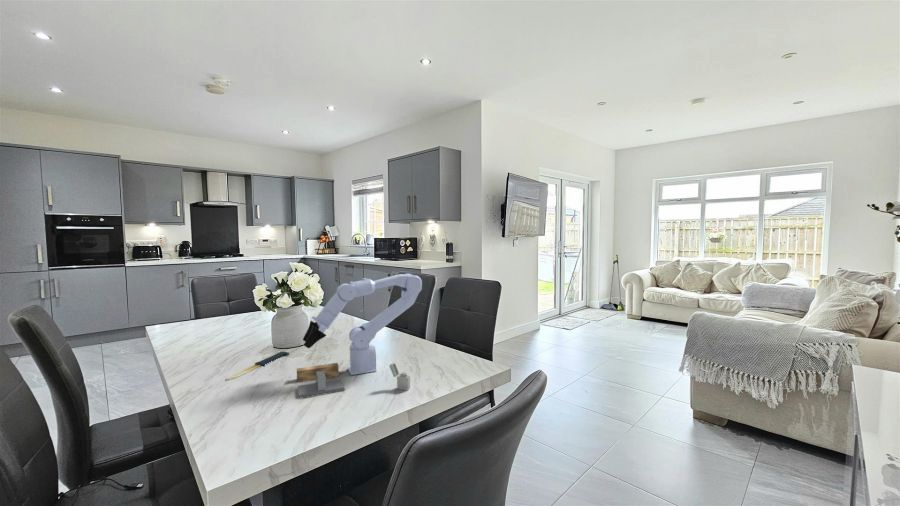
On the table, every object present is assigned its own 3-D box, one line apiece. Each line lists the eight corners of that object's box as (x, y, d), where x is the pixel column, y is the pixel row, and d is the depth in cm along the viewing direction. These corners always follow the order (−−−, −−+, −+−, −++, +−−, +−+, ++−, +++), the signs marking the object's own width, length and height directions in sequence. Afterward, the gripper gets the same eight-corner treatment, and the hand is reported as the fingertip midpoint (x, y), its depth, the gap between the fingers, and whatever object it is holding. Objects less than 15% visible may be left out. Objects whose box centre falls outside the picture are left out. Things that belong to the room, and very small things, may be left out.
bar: (337, 373, 137) (337, 362, 137) (338, 376, 134) (338, 365, 134) (296, 379, 131) (296, 368, 131) (297, 382, 128) (296, 371, 128)
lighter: (410, 388, 122) (410, 365, 122) (407, 390, 120) (407, 366, 120) (392, 385, 125) (391, 362, 124) (389, 387, 123) (389, 363, 123)
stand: (341, 381, 128) (340, 367, 128) (344, 390, 121) (344, 375, 121) (297, 388, 123) (297, 374, 122) (298, 398, 115) (298, 382, 115)
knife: (289, 352, 159) (231, 378, 130) (289, 355, 159) (231, 382, 130) (280, 351, 160) (221, 377, 131) (280, 354, 160) (222, 381, 131)
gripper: (319, 302, 139) (295, 333, 136) (323, 309, 126) (296, 343, 123) (334, 313, 141) (311, 343, 138) (339, 320, 128) (314, 354, 125)
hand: (305, 343), depth 131 cm, fingers open, 7 cm apart
